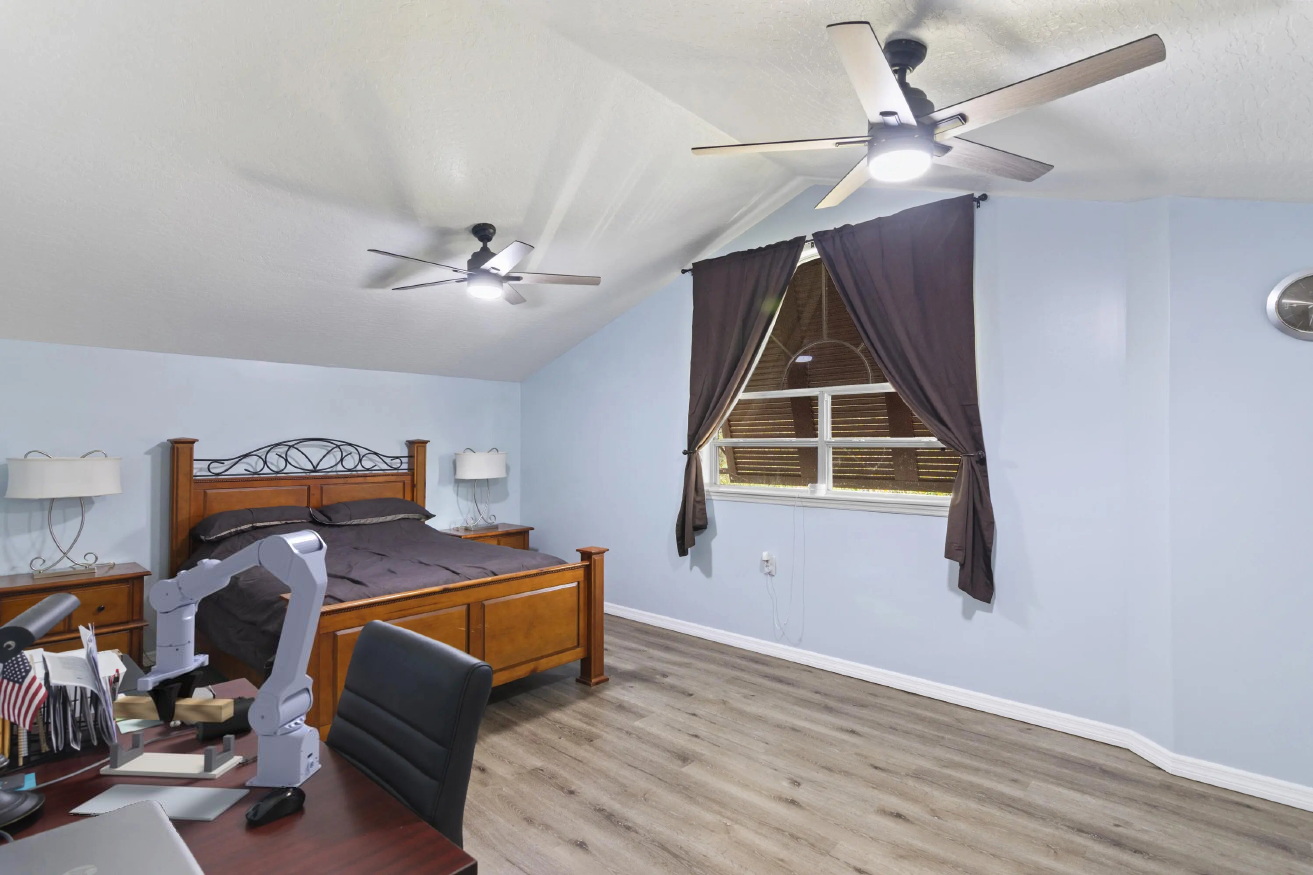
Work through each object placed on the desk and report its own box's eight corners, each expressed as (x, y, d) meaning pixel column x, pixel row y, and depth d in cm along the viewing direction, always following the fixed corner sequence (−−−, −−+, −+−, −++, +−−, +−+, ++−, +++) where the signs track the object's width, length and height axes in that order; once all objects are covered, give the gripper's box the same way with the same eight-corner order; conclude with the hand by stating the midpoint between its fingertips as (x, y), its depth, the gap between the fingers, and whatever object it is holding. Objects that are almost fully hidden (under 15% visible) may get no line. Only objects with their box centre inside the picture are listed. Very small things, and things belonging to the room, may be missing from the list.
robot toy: (234, 721, 147) (208, 700, 157) (235, 701, 147) (209, 681, 156) (168, 740, 138) (144, 717, 147) (169, 719, 138) (145, 696, 147)
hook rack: (242, 760, 127) (243, 733, 127) (216, 778, 120) (216, 750, 120) (132, 756, 128) (133, 729, 129) (99, 773, 121) (100, 745, 122)
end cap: (202, 748, 132) (203, 714, 132) (192, 738, 137) (192, 704, 137) (258, 732, 140) (259, 700, 140) (246, 723, 144) (247, 691, 144)
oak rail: (233, 715, 125) (233, 699, 125) (221, 721, 122) (222, 705, 122) (126, 711, 127) (127, 695, 127) (112, 718, 124) (113, 701, 124)
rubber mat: (249, 791, 116) (249, 789, 116) (211, 820, 107) (211, 817, 107) (117, 786, 117) (117, 783, 117) (69, 814, 108) (69, 811, 108)
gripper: (184, 631, 132) (183, 700, 132) (121, 653, 118) (119, 731, 117) (219, 632, 132) (217, 701, 131) (159, 654, 117) (158, 732, 117)
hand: (173, 716), depth 124 cm, fingers closed on oak rail, 3 cm apart
